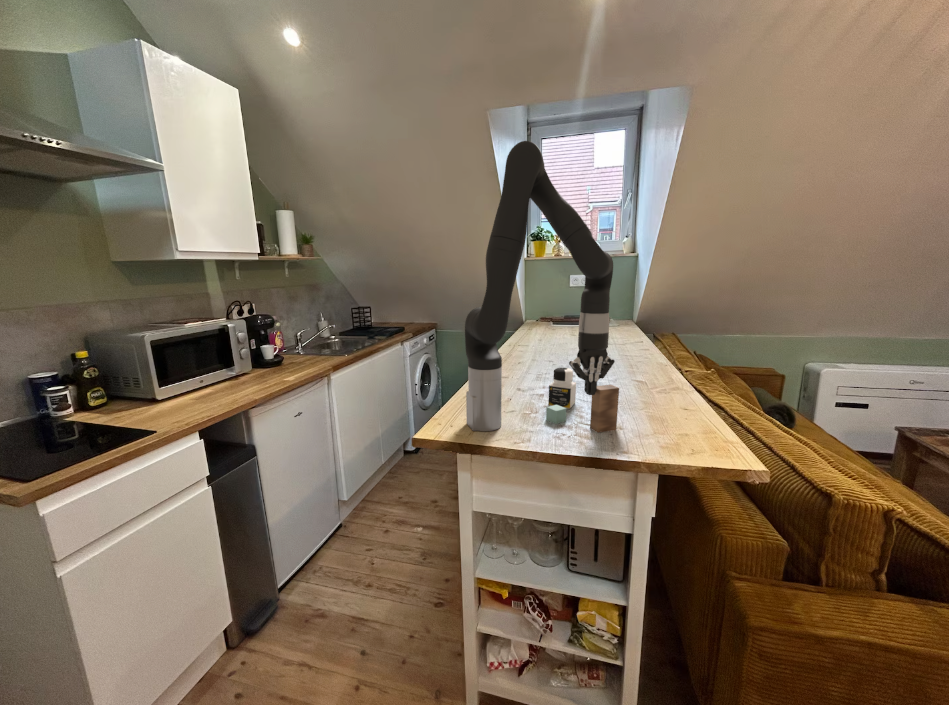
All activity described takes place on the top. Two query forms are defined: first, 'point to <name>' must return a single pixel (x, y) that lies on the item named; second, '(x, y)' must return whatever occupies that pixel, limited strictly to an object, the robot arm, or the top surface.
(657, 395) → the top surface
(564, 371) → the medicine bottle
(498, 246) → the robot arm
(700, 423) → the top surface
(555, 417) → the pale green block
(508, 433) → the top surface
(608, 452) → the top surface
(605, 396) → the walnut block
